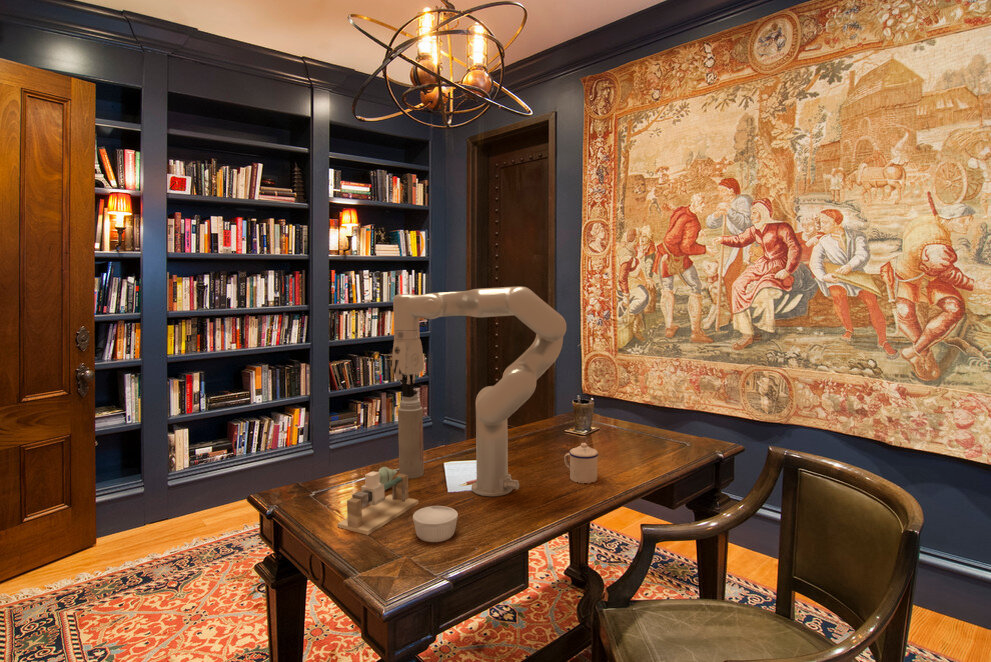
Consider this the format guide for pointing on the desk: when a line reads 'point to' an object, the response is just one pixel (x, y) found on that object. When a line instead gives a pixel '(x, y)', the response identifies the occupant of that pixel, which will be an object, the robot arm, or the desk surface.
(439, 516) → the ramekin
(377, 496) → the marker sleeve
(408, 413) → the thermos bottle
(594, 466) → the teacup with lid
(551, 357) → the robot arm
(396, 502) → the wooden toy assembly
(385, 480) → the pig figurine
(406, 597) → the desk surface
